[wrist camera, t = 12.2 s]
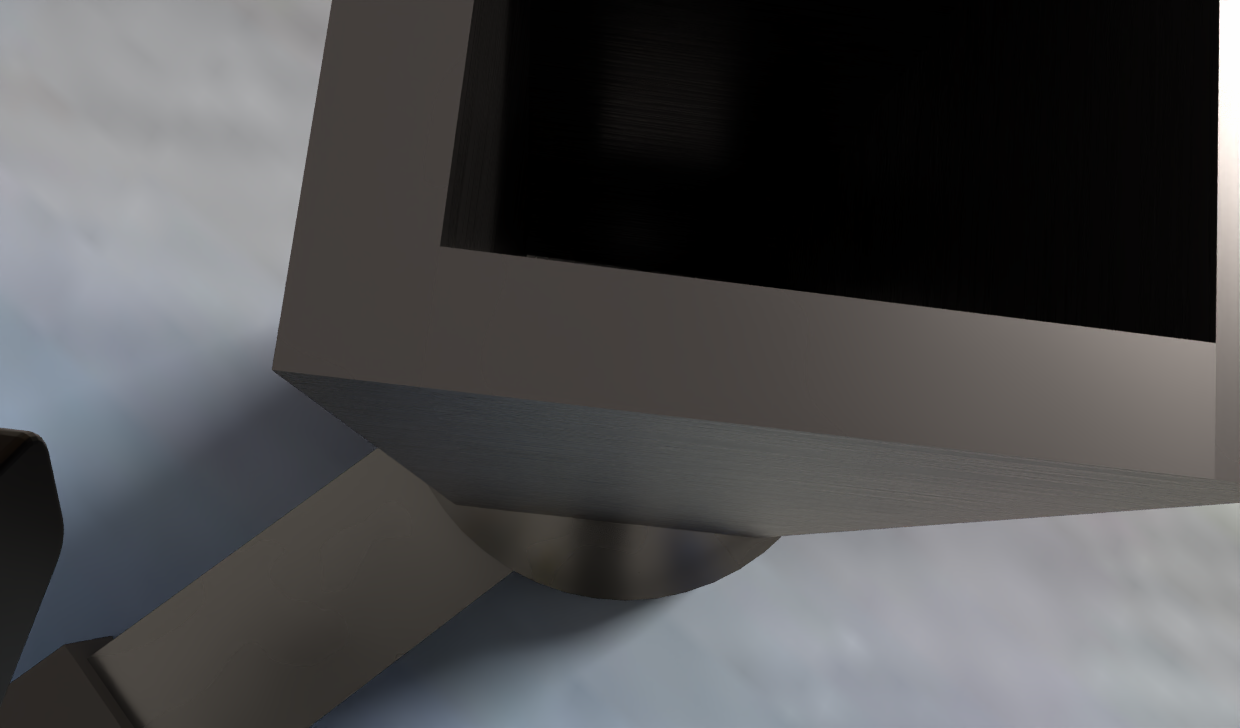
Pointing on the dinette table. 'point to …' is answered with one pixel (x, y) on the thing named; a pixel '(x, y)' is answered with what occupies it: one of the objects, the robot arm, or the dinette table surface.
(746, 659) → the dinette table surface
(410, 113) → the open-top metal box
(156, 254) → the dinette table surface
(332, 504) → the ratchet
